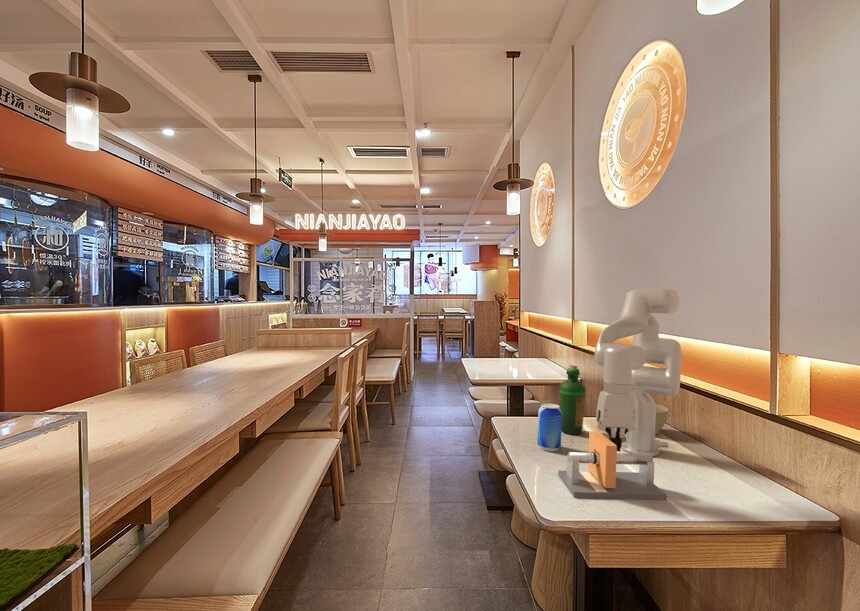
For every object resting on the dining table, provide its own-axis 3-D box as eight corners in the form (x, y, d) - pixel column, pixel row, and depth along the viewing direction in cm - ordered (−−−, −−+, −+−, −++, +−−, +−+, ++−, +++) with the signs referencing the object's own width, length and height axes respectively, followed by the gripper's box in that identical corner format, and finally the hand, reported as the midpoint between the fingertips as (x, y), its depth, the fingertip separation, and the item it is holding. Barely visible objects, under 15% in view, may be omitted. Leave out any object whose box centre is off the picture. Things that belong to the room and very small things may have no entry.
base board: (640, 477, 125) (640, 472, 125) (666, 499, 111) (666, 493, 111) (557, 475, 125) (558, 469, 125) (573, 497, 111) (574, 491, 111)
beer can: (557, 444, 152) (559, 403, 152) (563, 453, 144) (564, 409, 143) (535, 443, 153) (536, 402, 153) (539, 451, 145) (540, 407, 144)
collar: (597, 469, 124) (598, 431, 124) (615, 487, 112) (616, 445, 112) (588, 469, 124) (589, 431, 124) (604, 487, 112) (606, 445, 112)
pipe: (645, 479, 120) (646, 451, 120) (653, 486, 116) (654, 456, 116) (566, 477, 121) (567, 449, 120) (571, 484, 116) (572, 454, 116)
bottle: (588, 436, 162) (591, 368, 161) (562, 436, 162) (564, 367, 162) (579, 428, 173) (581, 364, 172) (554, 427, 173) (556, 363, 172)
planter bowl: (627, 423, 181) (628, 399, 181) (668, 430, 172) (669, 406, 172) (621, 432, 168) (622, 407, 168) (665, 441, 159) (666, 414, 159)
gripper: (635, 386, 122) (633, 445, 122) (587, 385, 121) (585, 444, 122) (649, 392, 114) (647, 455, 114) (597, 390, 114) (595, 454, 114)
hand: (615, 449), depth 118 cm, fingers closed
